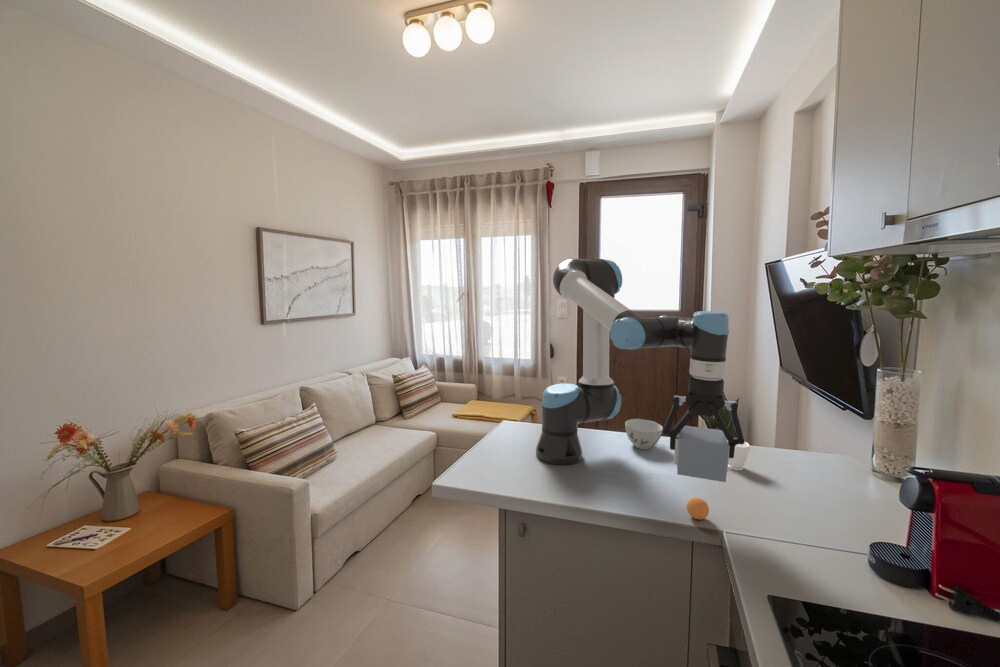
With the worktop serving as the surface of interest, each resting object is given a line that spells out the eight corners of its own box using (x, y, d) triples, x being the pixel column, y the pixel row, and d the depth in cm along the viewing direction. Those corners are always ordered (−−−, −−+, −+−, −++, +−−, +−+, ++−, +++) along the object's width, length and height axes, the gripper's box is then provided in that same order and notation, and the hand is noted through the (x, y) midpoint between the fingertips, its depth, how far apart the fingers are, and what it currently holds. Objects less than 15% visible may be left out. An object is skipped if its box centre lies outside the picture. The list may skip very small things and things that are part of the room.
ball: (686, 491, 106) (685, 504, 108) (688, 509, 102) (686, 522, 104) (708, 494, 104) (706, 507, 107) (711, 512, 100) (709, 525, 103)
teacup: (649, 457, 140) (650, 433, 139) (616, 445, 149) (617, 423, 148) (671, 445, 150) (673, 423, 149) (639, 435, 159) (640, 414, 158)
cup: (745, 474, 128) (747, 449, 127) (709, 465, 134) (711, 440, 133) (750, 467, 133) (752, 442, 132) (715, 458, 140) (717, 434, 139)
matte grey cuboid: (677, 474, 100) (679, 438, 99) (676, 457, 109) (678, 424, 108) (725, 482, 96) (728, 445, 95) (720, 464, 106) (723, 430, 105)
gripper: (654, 375, 101) (649, 464, 104) (765, 385, 92) (756, 481, 95) (655, 369, 108) (650, 452, 110) (758, 378, 99) (750, 467, 102)
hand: (699, 466), depth 103 cm, fingers closed on matte grey cuboid, 10 cm apart
